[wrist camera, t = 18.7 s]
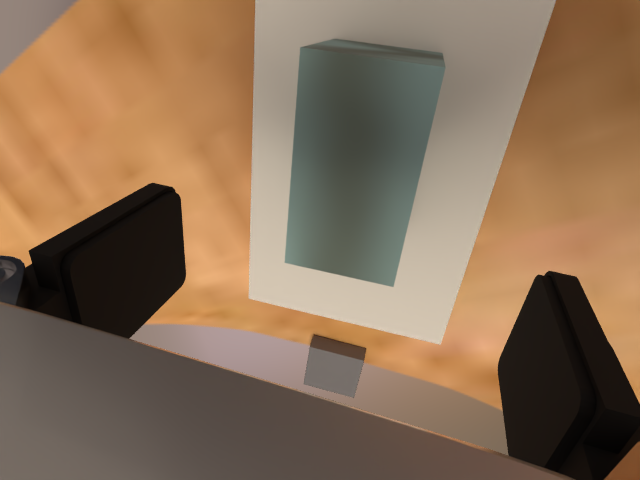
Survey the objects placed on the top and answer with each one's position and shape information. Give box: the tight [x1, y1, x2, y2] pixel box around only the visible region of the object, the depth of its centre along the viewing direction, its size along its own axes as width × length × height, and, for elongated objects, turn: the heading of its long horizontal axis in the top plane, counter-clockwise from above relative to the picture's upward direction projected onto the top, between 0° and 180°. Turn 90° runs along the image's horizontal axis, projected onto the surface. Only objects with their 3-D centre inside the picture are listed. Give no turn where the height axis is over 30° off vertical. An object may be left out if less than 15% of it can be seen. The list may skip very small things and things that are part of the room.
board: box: [249, 0, 556, 345], centre depth 22 cm, size 13×24×2 cm, turn 173°
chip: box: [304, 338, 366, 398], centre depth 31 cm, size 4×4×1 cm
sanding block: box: [285, 39, 446, 287], centre depth 19 cm, size 5×9×6 cm, turn 173°
